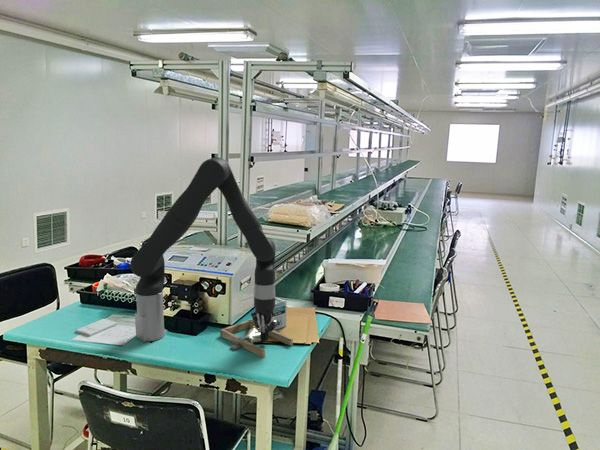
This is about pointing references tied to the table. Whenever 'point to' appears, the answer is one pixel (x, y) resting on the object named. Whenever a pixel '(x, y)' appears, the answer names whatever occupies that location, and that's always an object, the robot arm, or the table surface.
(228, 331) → the wooden frame
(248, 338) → the pipe fitting
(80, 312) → the table surface
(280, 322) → the light bulb box
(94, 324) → the external hard drive
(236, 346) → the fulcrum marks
